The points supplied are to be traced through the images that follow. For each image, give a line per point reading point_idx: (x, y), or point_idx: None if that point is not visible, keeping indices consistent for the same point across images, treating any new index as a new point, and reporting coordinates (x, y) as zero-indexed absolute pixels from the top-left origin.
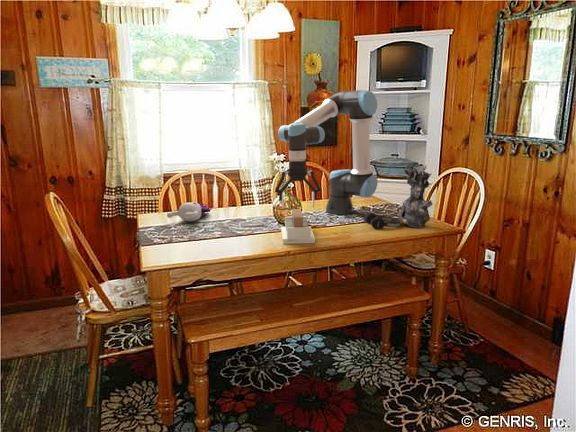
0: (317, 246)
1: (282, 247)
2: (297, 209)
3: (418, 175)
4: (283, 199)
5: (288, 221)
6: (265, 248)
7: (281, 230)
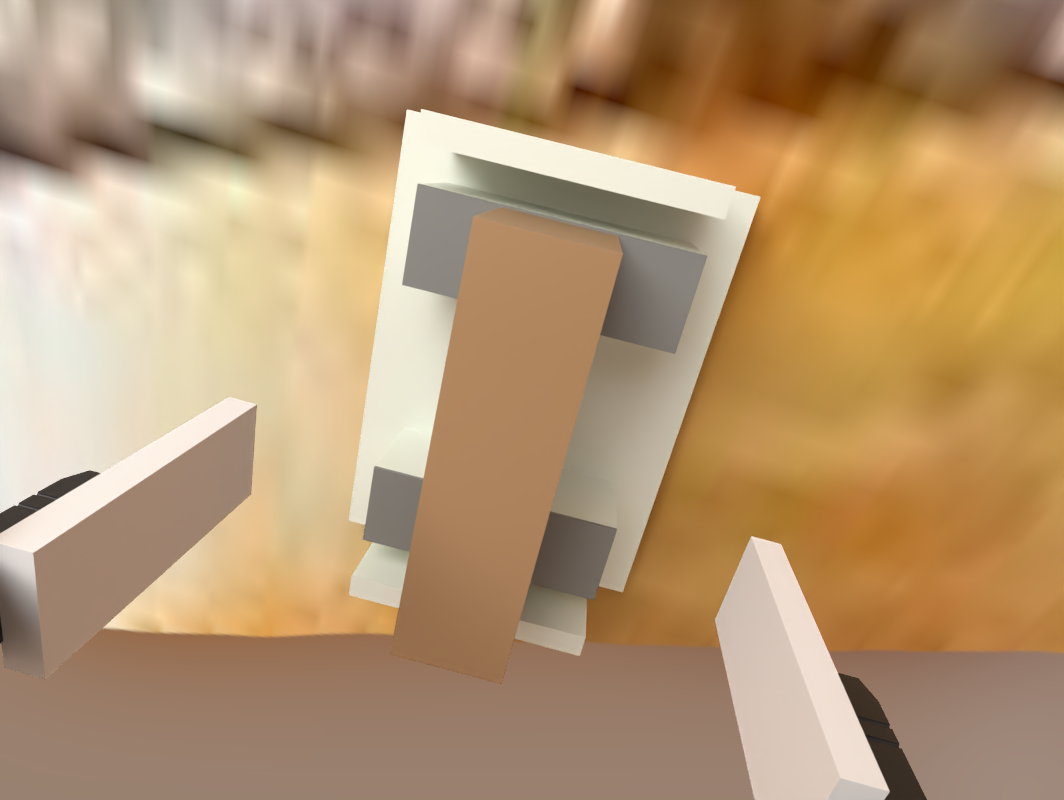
0: (608, 635)
1: (346, 572)
2: (564, 265)
3: None
4: (142, 587)
5: (437, 284)
6: (221, 551)
7: (389, 241)
